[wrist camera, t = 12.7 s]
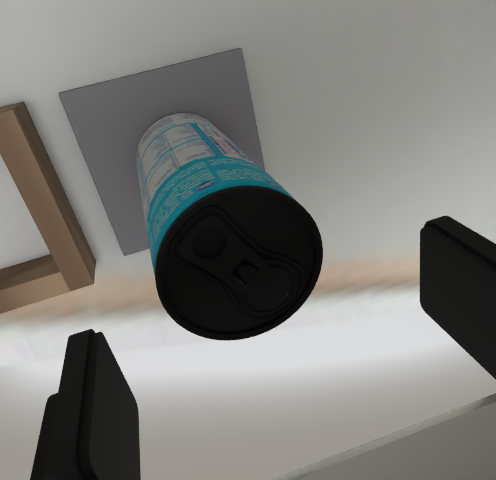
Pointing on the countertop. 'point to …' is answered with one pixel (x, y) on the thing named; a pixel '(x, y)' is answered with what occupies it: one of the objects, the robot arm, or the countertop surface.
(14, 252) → the countertop surface
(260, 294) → the beverage can
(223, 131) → the charcoal rubber mat
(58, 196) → the walnut socket block
